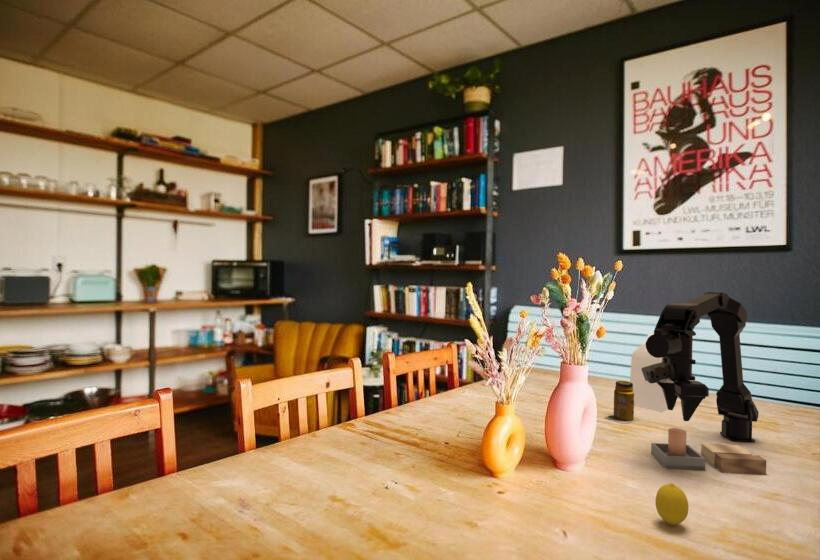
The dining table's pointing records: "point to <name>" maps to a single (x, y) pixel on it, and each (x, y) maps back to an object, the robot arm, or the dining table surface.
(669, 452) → the dowel
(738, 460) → the block
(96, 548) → the dining table surface
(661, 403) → the milk
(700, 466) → the tray
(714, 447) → the light wood rectangular prism
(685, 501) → the lemon
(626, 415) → the condiment
